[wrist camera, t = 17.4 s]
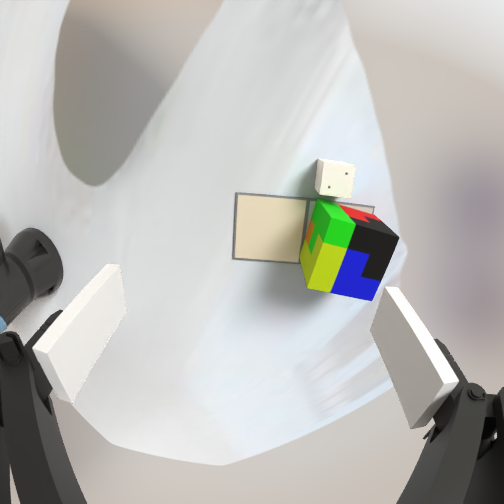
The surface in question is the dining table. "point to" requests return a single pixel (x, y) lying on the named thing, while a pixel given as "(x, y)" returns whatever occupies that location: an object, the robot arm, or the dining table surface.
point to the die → (334, 178)
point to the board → (274, 226)
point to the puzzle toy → (346, 251)
